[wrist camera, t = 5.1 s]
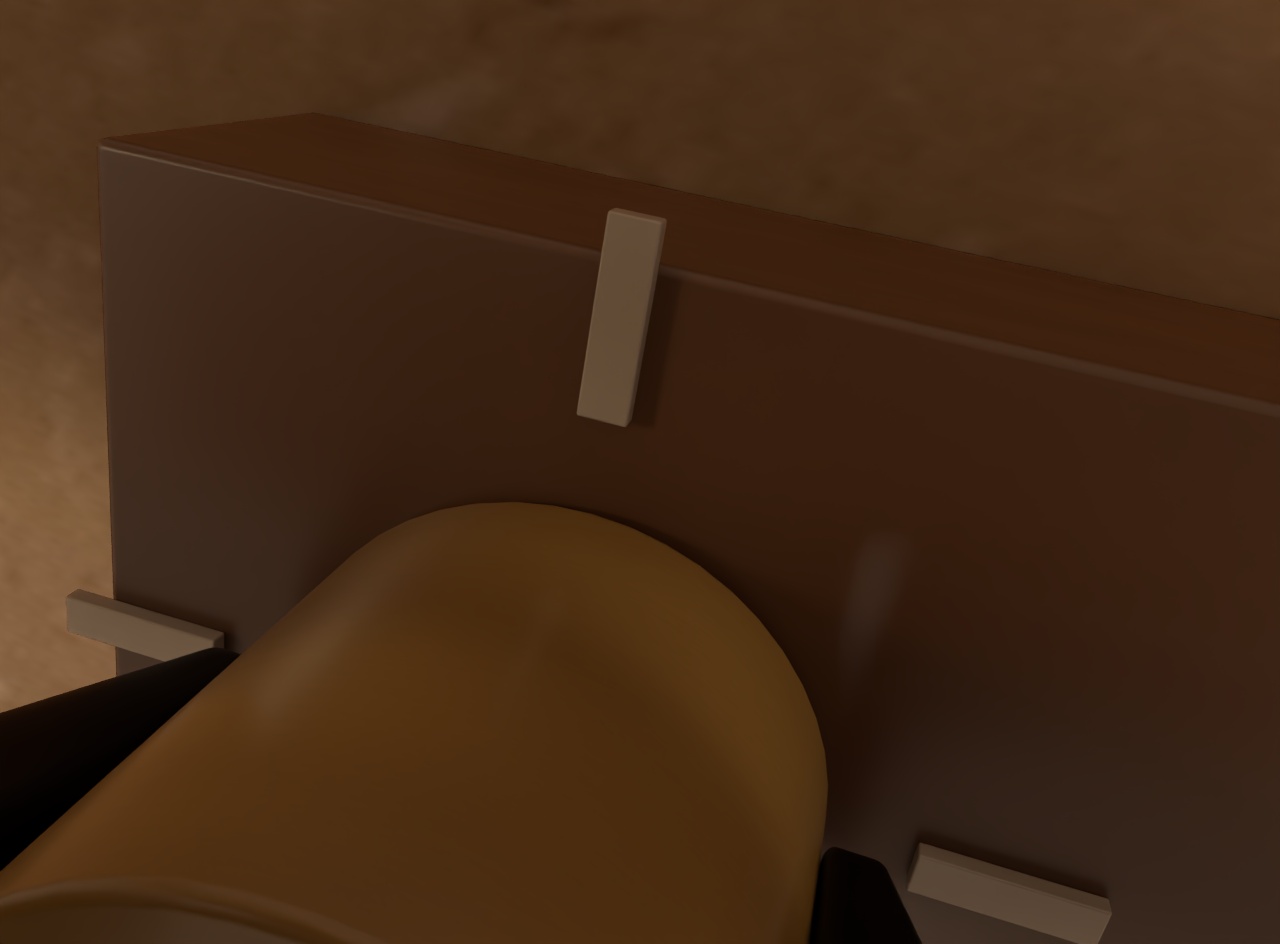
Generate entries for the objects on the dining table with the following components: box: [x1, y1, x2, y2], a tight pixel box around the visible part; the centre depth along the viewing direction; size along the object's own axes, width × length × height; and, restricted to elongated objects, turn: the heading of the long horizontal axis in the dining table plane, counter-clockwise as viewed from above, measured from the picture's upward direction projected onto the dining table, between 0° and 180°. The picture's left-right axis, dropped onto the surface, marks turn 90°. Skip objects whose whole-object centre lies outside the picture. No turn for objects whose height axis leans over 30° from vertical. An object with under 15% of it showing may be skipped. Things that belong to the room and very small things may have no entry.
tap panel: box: [66, 113, 1280, 944], centre depth 10 cm, size 10×10×3 cm
